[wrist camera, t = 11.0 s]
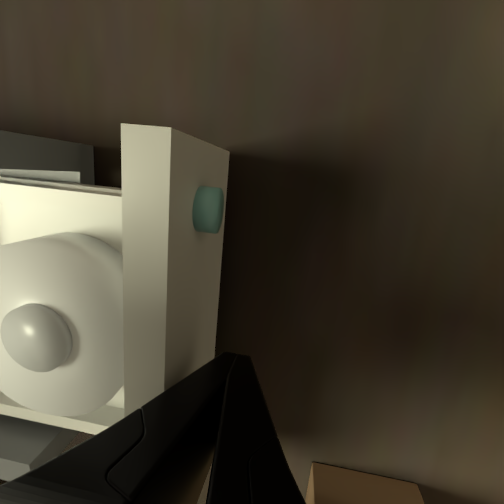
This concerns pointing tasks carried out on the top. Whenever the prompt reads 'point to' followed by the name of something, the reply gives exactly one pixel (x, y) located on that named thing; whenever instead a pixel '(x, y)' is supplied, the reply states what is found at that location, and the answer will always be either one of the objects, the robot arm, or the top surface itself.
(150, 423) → the robot arm
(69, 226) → the tray
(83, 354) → the disc
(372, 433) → the top surface
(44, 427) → the housing
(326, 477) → the pedestal
